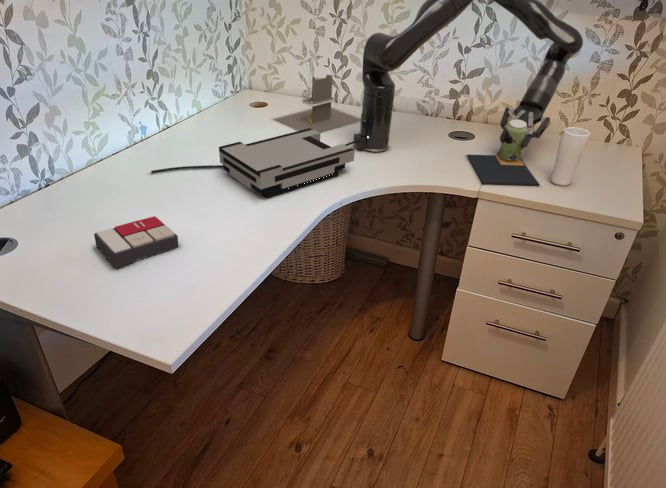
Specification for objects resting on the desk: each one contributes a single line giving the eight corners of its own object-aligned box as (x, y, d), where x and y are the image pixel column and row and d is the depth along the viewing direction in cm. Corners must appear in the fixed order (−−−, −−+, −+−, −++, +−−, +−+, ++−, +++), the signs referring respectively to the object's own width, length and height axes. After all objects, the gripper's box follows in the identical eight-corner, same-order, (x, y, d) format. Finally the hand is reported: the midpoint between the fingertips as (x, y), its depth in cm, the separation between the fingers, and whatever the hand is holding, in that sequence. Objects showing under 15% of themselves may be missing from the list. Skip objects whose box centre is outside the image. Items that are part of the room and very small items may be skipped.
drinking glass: (571, 179, 154) (589, 128, 145) (573, 189, 149) (591, 137, 140) (547, 175, 155) (563, 125, 146) (547, 185, 150) (564, 133, 141)
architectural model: (273, 119, 189) (273, 76, 180) (325, 105, 202) (327, 65, 193) (309, 135, 177) (311, 90, 168) (362, 120, 190) (366, 78, 182)
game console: (352, 172, 154) (355, 145, 149) (261, 202, 138) (260, 173, 133) (309, 149, 167) (309, 124, 162) (221, 174, 151) (218, 146, 146)
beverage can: (516, 155, 165) (526, 117, 158) (521, 165, 159) (532, 126, 152) (495, 154, 166) (504, 116, 158) (500, 163, 160) (509, 124, 152)
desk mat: (482, 184, 150) (482, 181, 149) (466, 156, 166) (467, 153, 165) (538, 186, 150) (539, 183, 149) (518, 157, 166) (518, 155, 165)
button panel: (178, 233, 118) (112, 251, 110) (179, 249, 120) (115, 269, 112) (155, 213, 125) (92, 230, 116) (157, 229, 127) (95, 247, 119)
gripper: (563, 107, 157) (536, 157, 157) (517, 96, 165) (491, 144, 165) (562, 93, 151) (534, 144, 151) (514, 82, 158) (487, 132, 158)
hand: (511, 144), depth 158 cm, fingers closed on beverage can, 5 cm apart
